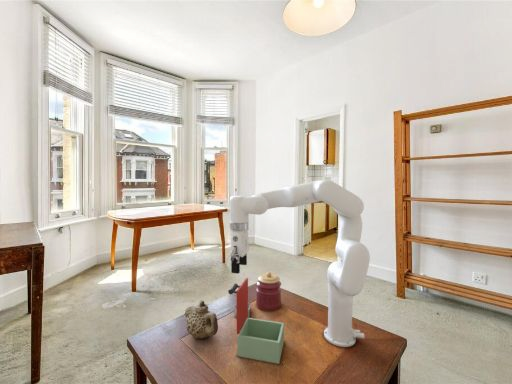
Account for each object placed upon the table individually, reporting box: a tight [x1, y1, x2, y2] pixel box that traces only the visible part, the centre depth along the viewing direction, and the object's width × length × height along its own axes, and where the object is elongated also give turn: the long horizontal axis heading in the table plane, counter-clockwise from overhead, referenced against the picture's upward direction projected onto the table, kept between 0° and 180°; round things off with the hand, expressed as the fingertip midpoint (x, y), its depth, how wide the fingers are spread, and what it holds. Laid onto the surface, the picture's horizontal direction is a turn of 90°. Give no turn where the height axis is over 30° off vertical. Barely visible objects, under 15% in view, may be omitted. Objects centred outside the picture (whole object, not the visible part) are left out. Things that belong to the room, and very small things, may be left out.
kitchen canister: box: [255, 271, 282, 312], centre depth 128 cm, size 13×13×18 cm
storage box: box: [237, 317, 285, 365], centre depth 95 cm, size 16×13×8 cm
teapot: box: [184, 299, 219, 340], centre depth 102 cm, size 21×12×15 cm, turn 47°
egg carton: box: [234, 300, 251, 318], centre depth 121 cm, size 11×8×4 cm
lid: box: [227, 277, 249, 336], centre depth 97 cm, size 16×13×5 cm
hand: (239, 268), depth 98 cm, fingers open, 9 cm apart
